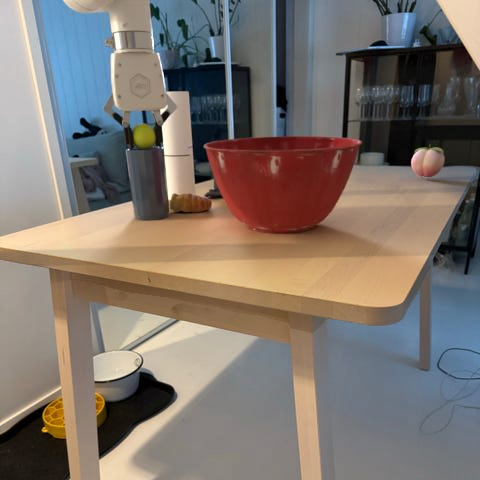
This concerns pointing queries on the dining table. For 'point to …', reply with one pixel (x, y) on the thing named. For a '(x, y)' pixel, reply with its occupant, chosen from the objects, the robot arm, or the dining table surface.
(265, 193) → the mixing bowl
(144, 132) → the ball
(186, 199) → the pastry
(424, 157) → the decorative fruit
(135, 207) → the cup
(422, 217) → the dining table surface
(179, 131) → the cylindrical container
